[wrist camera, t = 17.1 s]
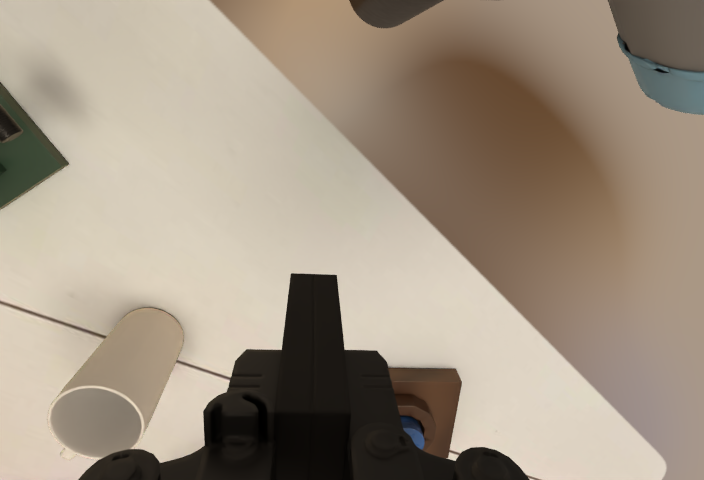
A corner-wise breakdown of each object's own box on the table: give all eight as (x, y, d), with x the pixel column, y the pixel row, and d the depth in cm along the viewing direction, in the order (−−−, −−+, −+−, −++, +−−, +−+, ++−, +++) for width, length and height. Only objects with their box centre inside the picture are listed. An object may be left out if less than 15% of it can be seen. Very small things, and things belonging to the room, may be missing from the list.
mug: (141, 291, 43) (79, 369, 32) (201, 330, 45) (163, 417, 34) (83, 362, 45) (6, 458, 34) (142, 397, 47) (88, 499, 36)
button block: (455, 368, 49) (467, 393, 45) (442, 443, 52) (452, 471, 48) (343, 367, 48) (345, 392, 44) (337, 442, 51) (339, 472, 47)
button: (423, 415, 46) (427, 428, 44) (418, 446, 47) (421, 460, 46) (383, 415, 46) (386, 428, 44) (379, 446, 47) (382, 460, 45)
